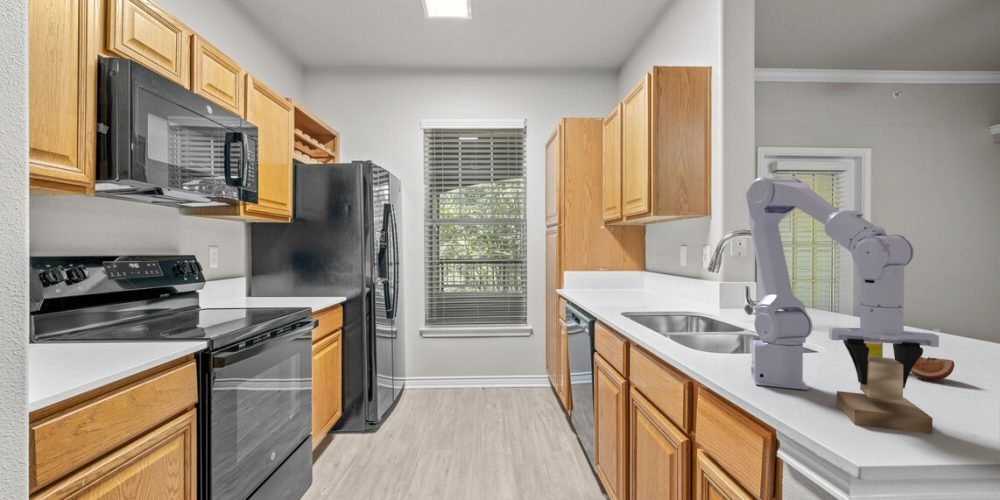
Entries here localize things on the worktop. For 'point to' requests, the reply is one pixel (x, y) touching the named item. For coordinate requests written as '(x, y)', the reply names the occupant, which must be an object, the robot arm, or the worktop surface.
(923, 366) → the fruit slice
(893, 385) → the birch block
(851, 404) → the walnut block
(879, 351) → the supplement bottle
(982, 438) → the worktop surface
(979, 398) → the worktop surface
